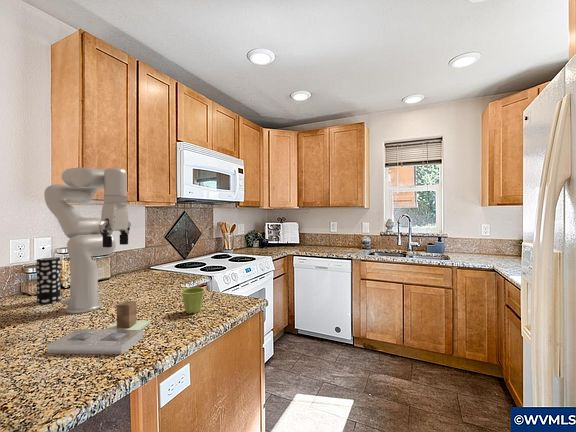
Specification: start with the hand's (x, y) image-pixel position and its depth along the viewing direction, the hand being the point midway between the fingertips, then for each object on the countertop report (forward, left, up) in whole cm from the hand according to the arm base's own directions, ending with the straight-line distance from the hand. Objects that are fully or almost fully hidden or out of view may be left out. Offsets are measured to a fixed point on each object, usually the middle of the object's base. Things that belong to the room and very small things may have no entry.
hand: (116, 245), depth 108 cm
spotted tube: (-46, +21, -28) cm, 58 cm away
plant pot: (+26, +10, -28) cm, 40 cm away
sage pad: (+9, -8, -28) cm, 31 cm away
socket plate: (+8, -21, -28) cm, 36 cm away
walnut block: (+9, -8, -28) cm, 30 cm away
